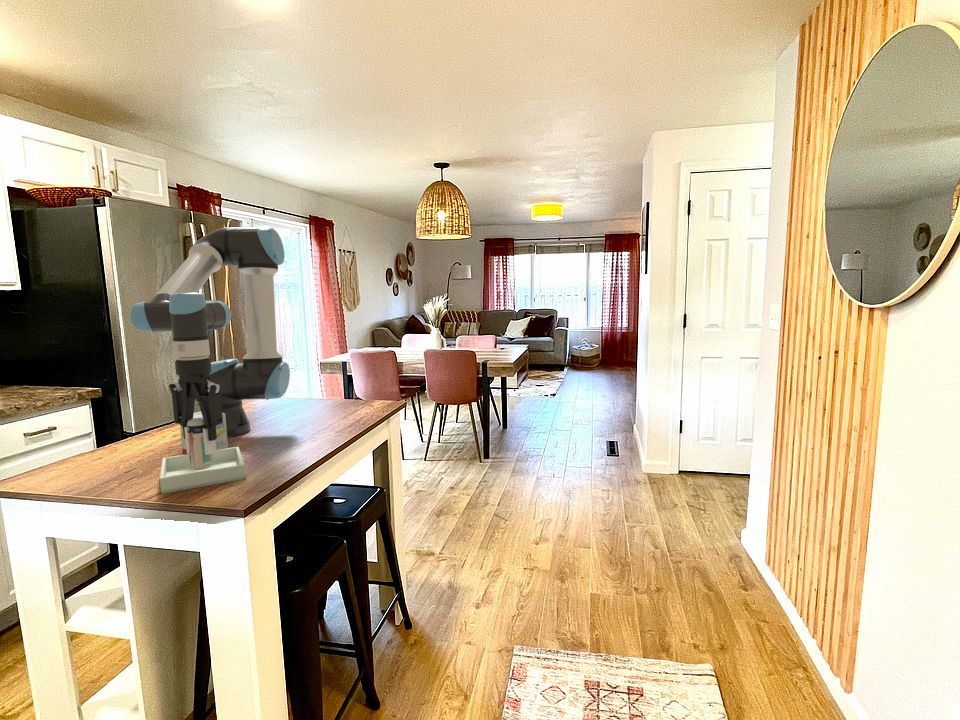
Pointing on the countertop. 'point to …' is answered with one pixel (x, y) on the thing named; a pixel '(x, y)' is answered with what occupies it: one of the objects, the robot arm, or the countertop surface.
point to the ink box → (220, 432)
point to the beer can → (197, 445)
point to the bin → (201, 471)
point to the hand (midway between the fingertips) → (201, 452)
